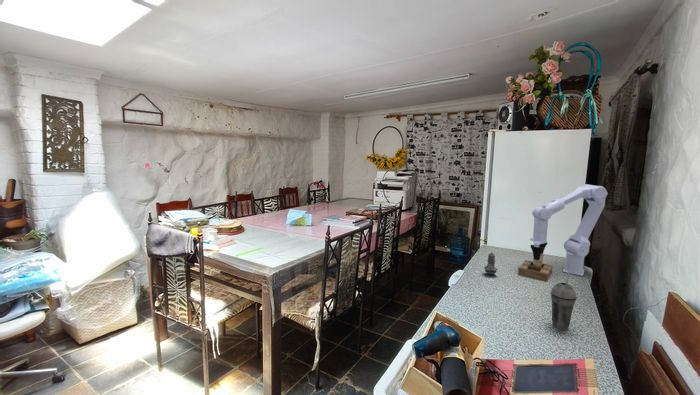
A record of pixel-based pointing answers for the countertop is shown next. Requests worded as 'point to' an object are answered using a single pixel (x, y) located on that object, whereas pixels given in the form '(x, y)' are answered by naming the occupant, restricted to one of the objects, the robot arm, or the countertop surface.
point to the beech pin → (538, 261)
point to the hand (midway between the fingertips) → (538, 257)
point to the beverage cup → (562, 304)
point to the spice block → (535, 270)
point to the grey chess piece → (490, 266)
